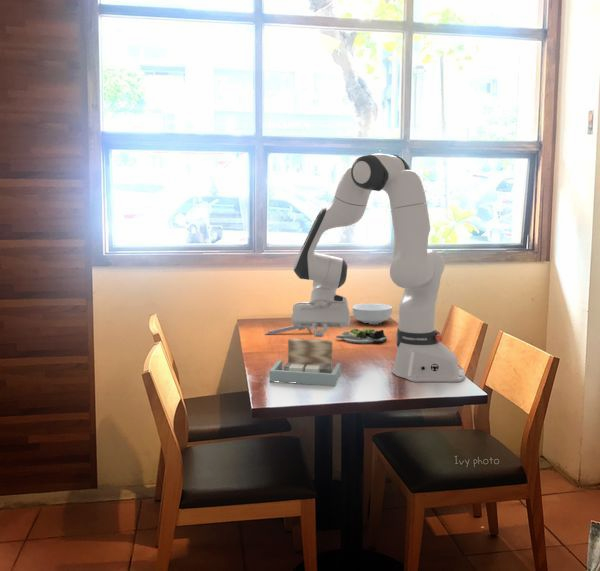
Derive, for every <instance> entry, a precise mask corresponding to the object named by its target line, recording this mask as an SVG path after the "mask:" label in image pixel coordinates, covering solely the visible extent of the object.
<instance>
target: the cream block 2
mask: <svg viewBox="0 0 600 571" xmlns="http://www.w3.org/2000/svg"><path fill="white" fill-rule="evenodd" d="M305 372H317V373H320V365H307V366H306V367H305Z"/></svg>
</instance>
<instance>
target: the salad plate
mask: <svg viewBox="0 0 600 571" xmlns="http://www.w3.org/2000/svg"><path fill="white" fill-rule="evenodd" d="M335 338H336V339H341V340H343V341H344V340H345V342H348V343H352V342H353V343H352V344H381V343H380V342H382V343H384V341H385V342H386V340H387V336H386V335H385V332H384V329H381V330H376V329H372V328H371V329H370V328H366V329H365V328H364V329H362V330H361V329H358V328H355V329H354V328H352V329H350V330H346V331H342V333H341V334H340V335H335Z"/></svg>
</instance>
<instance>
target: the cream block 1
mask: <svg viewBox="0 0 600 571" xmlns="http://www.w3.org/2000/svg"><path fill="white" fill-rule="evenodd" d="M289 371H300V372H304V365H302V364H291V366H290V367H289Z"/></svg>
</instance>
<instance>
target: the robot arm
mask: <svg viewBox="0 0 600 571" xmlns="http://www.w3.org/2000/svg"><path fill="white" fill-rule="evenodd" d="M410 169H411V168H410V165H409V163H408V161H407V160H406V159H405V158H404V157H402V156H399V155H396V154H385V153H373V154H370V153H369V154H363V155H362V156H359V157H358V158H357V159H355V160H354V162H353V163H352V165H351V166H349V167H347V168H345V170H344V172H343V173H342V175H341V177H340V180H339V182H338V184H337V188H336V190H335V194H334V197H333V200H332V201H331V202H330V204H328V206H326V207H324V208H322V209H320V210H319V212H318V214H317V215H316V218H315V219H314V221H313V224H312V225H311V227H310V230H309V232H308V233H307V236H306V239H305V241H304V243H303V245H302V247H301V249H300V250H299V252H298V254H297V255H296V257H295V259H294V262H293V272H294V274H295V275H296V277H297V278H298V279H300V280H310V281H312V288H313V289H312V291H311V295H310V301H309V302H308V301H305V302H303V301H302V302H301V301H299V302H297V303H295V304H293V306H292V314H291V318H290V320H291V321H290V322H291V324H292V326H296V327H310V328H311V327H312V330H313V333H314V335H313V336H314V338H324V334H325V333H326V331H328V329H329V328H349V327H350V326H351V315H350V309H349V304H348V303H349V302H348V299H347V297H345V296H343V295H340V294H337V293H336V292H337V289H339V288H341V287H342V286H343V285H344V284H345V283H346V281H347V275H348V263H347V261H346V260H345V259H344V258H342V257H337V256H335V255H328V254H323V253H320V252H315V250H316V248H317V246H318V244H319V242H320V239H321V237H322V235H323V234H324V233H325V232H326V231H328V230H330V229H335V228H344V227H349V226H352V225H354V224H357V223H358V222H359V221H360V220H362V218H363V216H364V214H365V212H366V209H367V206H368V202H369V199H370V195H371V193H372V191H374V192H375V191H376V192H380V191H384V192H386V194H387V195H388V198H389V204H390V214H391V220H392V226H393V256H392V262H391V264H390V267H389V276H390V279H391V280H392V282H393V283H394V284H395V285H396V286H397V287H398V288H402V289H404V290H403V294H402V297H401V299H400V302H399V305H398V328H397V329H396V337H395V338H396V348H397V349H396V355H395V360H394V365H393V368H392V370H391V371H392V372H391V373H392V374H394V375H395V376H397V377H399V378H402V379H406V380H408V381H410V382H415V383H416V382H420V383H421V382H427V383H429V382H431V383H432V382H433V383H435V382H439V383H440V382H444V383H445V382H447V383H448V382H449V383H452V382H453V383H455V382H462V381H464V380H465V379H466V372H465V370H464V369H463V368H461V367H460V366H459V363H458V358H457V355H456V354H455V353H454V352H453V351H452V350H451V349H449V348H448V347H447V346H446V345H445V344H443V343H442V342H441V341H443V335H442V333H441V332H440V331H439V330H436V329H435V318H436V317H435V316H436V305H437V304H436V303H437V298H438V293H439V288H440V283H441V278H442V275H443V272H444V270H445V261H444V257H443V256H442V255H441V254H440V253H439V252H437V251H435V250H433V249H429V248H428V246H429V245H428V244H429V235H430V232H431V223H430V217H429V209H428V203H427V197H426V193H425V189H424V185H423V182H422V179H421V176H420V175H419V173H417V172H416V171H414V170H410ZM318 328H322V329H321V330H319V329H318Z"/></svg>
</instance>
